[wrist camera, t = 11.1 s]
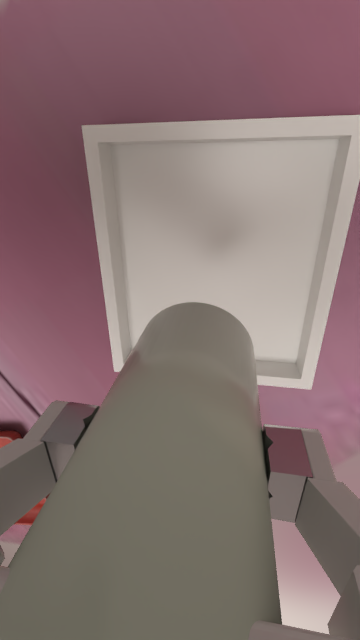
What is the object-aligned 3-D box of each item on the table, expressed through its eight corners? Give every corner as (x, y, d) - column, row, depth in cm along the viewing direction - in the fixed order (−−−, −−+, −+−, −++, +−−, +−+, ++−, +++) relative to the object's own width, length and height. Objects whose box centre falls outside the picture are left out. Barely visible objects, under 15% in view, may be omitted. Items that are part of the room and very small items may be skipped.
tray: (124, 354, 31) (114, 371, 29) (99, 130, 23) (81, 125, 20) (304, 369, 29) (311, 389, 26) (356, 121, 20) (374, 114, 17)
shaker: (144, 393, 15) (-68, 910, 4) (136, 298, 12) (-328, 896, 2) (248, 404, 14) (285, 1059, 4) (260, 305, 12) (435, 1270, 1)
